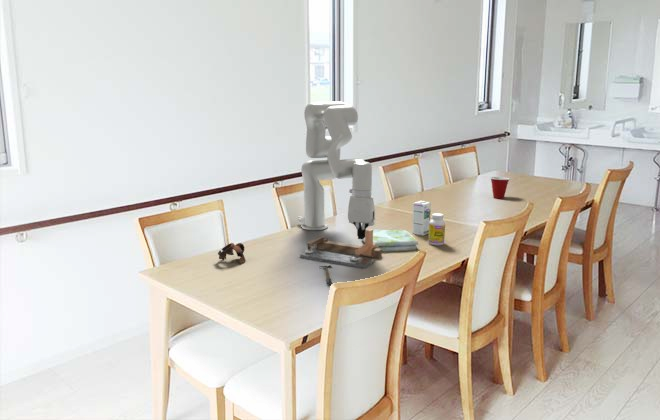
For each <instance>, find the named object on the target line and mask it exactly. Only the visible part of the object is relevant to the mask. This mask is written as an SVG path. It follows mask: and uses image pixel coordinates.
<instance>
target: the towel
mask: <svg viewBox="0 0 660 420" xmlns="http://www.w3.org/2000/svg"><path fill="white" fill-rule="evenodd" d="M372 229H373V228H372ZM367 230H368V229H366V231H367ZM362 241H363V242H364V243H365V238H364V239H362ZM373 244H376V248H379V249H382V252H397V251H398V252H399V251H413V250H417V245H419V241H418V240H417V238H415V237H414V235H412V233H410V232H409V231H408V230H405V229H377V228H376V229H375V228H374V229H373Z"/></svg>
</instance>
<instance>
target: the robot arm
mask: <svg viewBox="0 0 660 420" xmlns="http://www.w3.org/2000/svg"><path fill="white" fill-rule="evenodd" d="M303 115H304V120H305V125H306V136H305V138H306V139H305V152H306V153H305V154H306V156H307V157H308V158H310V159H312V160H308V161H305V162H303V164H302V165H301V175H302V177H301V178H302V181H303V211H304V213H303V216H300V215H299V216H298V217H297V222H301V224H300V227H302V228H301V229H302V230H303V229H304V230H307V231H322V230H325V229H328V227H329V224H328V223H327V222H325V219H326V218H325V217H326V215H325V189H324V187H323V185H322V184H321V183H320V182H321V181H330V180H336V179H340V180H341V179H343V180H344V179H352V180H351V181H352V183H351V184H352V186H351V187H352V188H351V189H349V193H350V194H351V195H350V196H349V202H348V208H347V209H348V210H347V220H348V223H349V224H352V225H354V226H355V228H356V230H357V231H356V234H357V239H358V240H363V239H364V238H365V231H366V230H367V228H369V227H370V226H371V227H372V226H375V225H376V224H375V223H376V222H375V220H376V209H375V202H374V201H375V200H374V197H373V196H372V193H373V192H372V189H373V188H372V182H373V178H372V176H373V175H372V174H373V172H372V171H373V169H372V168H373V167H372V166H373V165H372V163H370V162H369V161H365V160H364V159H362V158H349V159H348V158H347V159H341V148H342V147H344V146H346V145H347V144H349V143H350V142H351V141H352V138H353V135H352V132H351V129H350V127H349V126H354V125H356V124H357V122H358V119H359V115H358V112H357V109H356V108H355V107H354V106H353V105H351V104H350V103H349V104H348V103H346V102H343V101H315V102H310V103H308V104H306V106H305V108H304V114H303ZM324 123H325V124H324ZM326 127H327V130H326ZM327 131H328V134H329V136H326V132H327ZM325 158H326V159H325ZM313 159H315V160H313Z"/></svg>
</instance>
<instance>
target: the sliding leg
mask: <svg viewBox="0 0 660 420" xmlns="http://www.w3.org/2000/svg"><path fill="white" fill-rule="evenodd" d="M366 230H367V231H365V242H364V244H362V245H361V246H362V247H360V248H358V249H357V250H355V254H354V256H355V257H356V258H358V257H360V256H361V255H360V254H362V255H368V256H371V255H372V249H373V248H376V244H373V228H368V229H366Z"/></svg>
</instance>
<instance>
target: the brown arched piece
mask: <svg viewBox="0 0 660 420" xmlns="http://www.w3.org/2000/svg"><path fill="white" fill-rule="evenodd" d="M234 252H235V253H236V256H237V257H239V258H238V261H239V263H240V264H241V265H242V264H244V263H245V262H246V258H245V255H244V252H245V245H244V244H243V243H242V242H239V243H237V244H235V243H234V242H229V243H228V244H226V245H225V246H224V247H222V248H221V250H219V251H218V252H217V255H218V259H219V260H222V261H224V260H227V255H228V256H234V255H235V254H234Z"/></svg>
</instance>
